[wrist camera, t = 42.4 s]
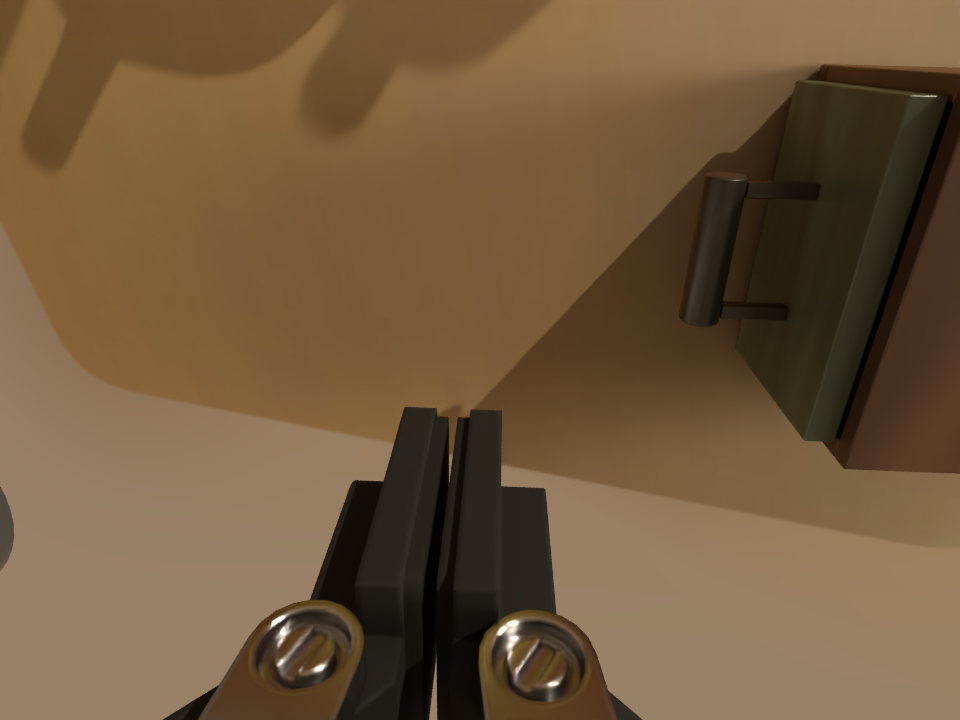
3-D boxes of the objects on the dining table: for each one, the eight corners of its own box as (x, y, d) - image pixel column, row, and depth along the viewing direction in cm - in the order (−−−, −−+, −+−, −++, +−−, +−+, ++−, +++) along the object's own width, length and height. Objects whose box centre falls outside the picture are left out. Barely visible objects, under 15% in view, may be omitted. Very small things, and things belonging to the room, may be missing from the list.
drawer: (648, 345, 32) (691, 436, 24) (691, 77, 26) (763, 90, 19) (1006, 358, 31) (1161, 455, 24) (1127, 88, 26) (1378, 106, 18)
